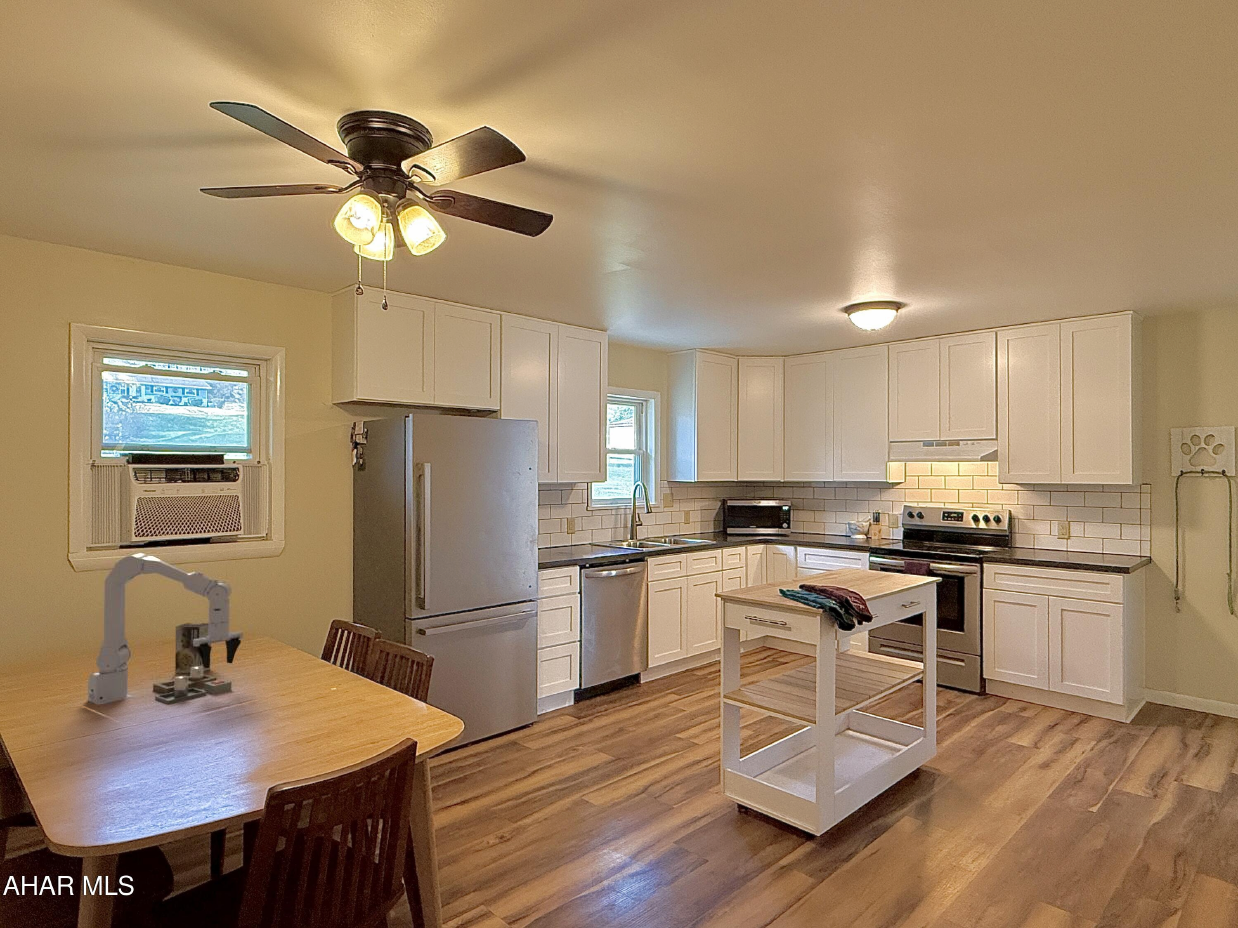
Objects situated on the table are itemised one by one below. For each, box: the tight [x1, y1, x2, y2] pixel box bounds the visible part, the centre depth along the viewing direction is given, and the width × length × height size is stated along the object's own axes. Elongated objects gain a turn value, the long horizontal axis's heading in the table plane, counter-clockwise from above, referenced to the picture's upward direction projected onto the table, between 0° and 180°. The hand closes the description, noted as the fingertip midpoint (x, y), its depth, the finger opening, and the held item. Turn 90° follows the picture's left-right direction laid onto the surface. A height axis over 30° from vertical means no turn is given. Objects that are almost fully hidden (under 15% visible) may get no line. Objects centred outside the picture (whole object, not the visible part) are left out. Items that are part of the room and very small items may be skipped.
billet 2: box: [189, 666, 204, 682], centre depth 235 cm, size 4×4×6 cm
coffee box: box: [174, 622, 212, 674], centre depth 254 cm, size 9×6×16 cm
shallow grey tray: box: [154, 688, 207, 705], centre depth 222 cm, size 11×8×2 cm
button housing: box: [203, 678, 233, 695], centre depth 229 cm, size 6×6×3 cm
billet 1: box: [173, 675, 189, 699], centre depth 222 cm, size 4×4×6 cm
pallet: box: [152, 673, 218, 695], centre depth 232 cm, size 15×9×2 cm, turn 146°
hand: (218, 665), depth 229 cm, fingers open, 7 cm apart
